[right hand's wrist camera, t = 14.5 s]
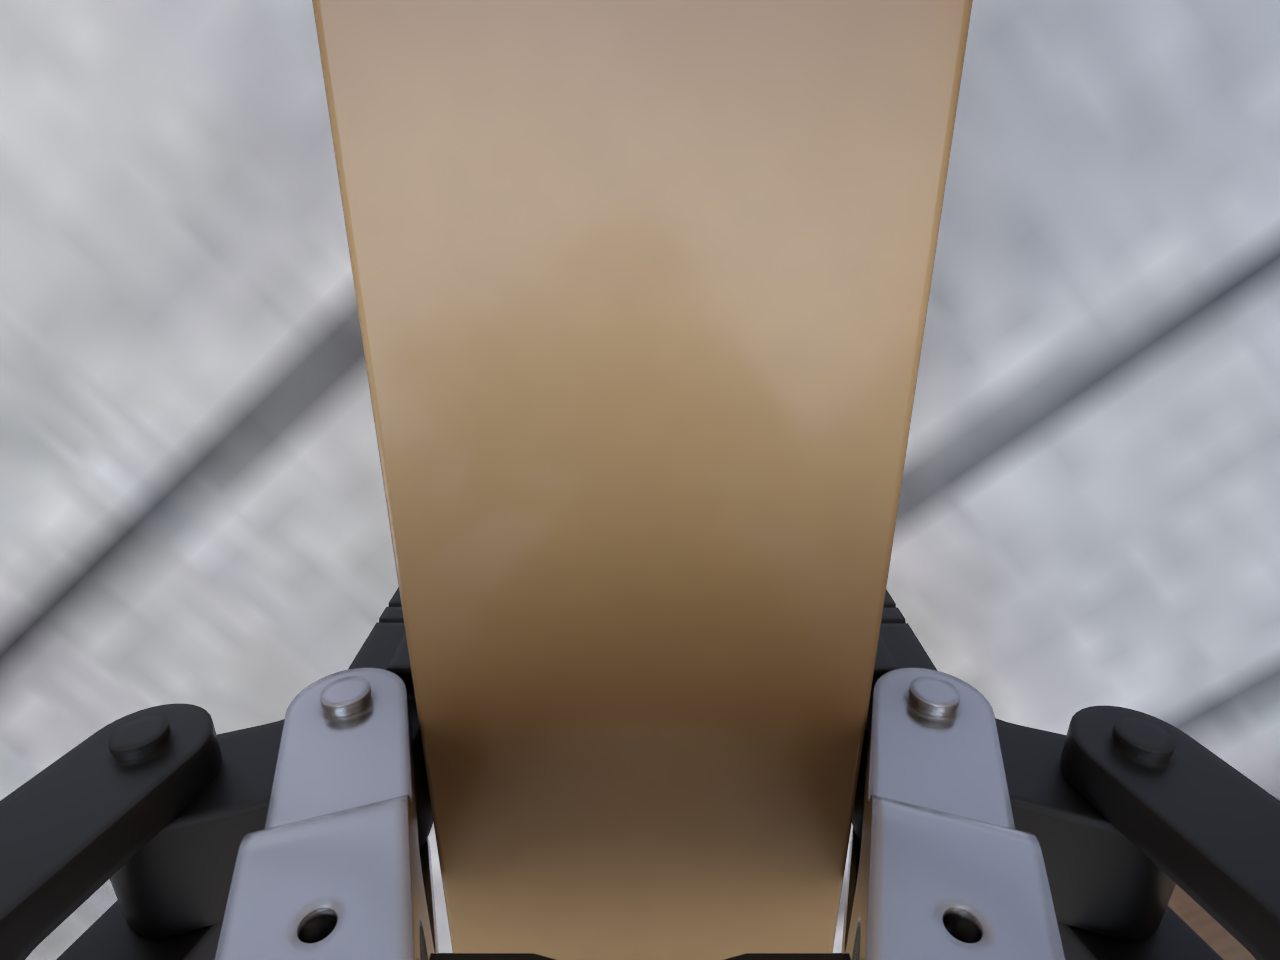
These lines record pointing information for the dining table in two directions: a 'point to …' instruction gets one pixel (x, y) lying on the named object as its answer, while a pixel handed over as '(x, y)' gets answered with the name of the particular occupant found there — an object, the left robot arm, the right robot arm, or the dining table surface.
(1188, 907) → the decorative block
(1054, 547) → the dining table surface
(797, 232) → the bar
